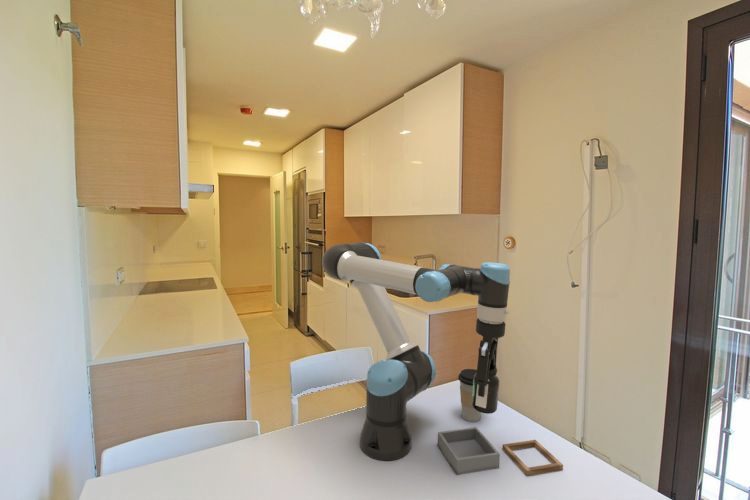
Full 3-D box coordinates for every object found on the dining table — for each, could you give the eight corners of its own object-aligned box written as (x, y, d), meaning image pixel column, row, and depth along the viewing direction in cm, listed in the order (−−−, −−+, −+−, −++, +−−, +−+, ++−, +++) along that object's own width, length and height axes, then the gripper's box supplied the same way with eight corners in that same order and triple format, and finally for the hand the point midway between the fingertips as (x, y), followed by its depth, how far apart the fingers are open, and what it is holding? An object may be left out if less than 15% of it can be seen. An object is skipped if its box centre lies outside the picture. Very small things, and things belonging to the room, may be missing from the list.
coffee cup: (486, 426, 114) (489, 381, 113) (456, 422, 116) (458, 378, 114) (484, 411, 123) (486, 369, 122) (456, 407, 125) (457, 366, 124)
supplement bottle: (468, 408, 98) (471, 367, 96) (475, 398, 103) (478, 358, 102) (493, 417, 94) (497, 374, 93) (499, 406, 100) (503, 365, 98)
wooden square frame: (502, 449, 103) (502, 444, 102) (535, 444, 105) (535, 439, 105) (526, 476, 92) (527, 470, 92) (562, 470, 95) (563, 464, 94)
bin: (437, 445, 104) (437, 432, 104) (475, 439, 107) (476, 427, 107) (456, 474, 92) (457, 460, 92) (499, 467, 95) (499, 453, 95)
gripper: (498, 332, 86) (490, 422, 88) (511, 314, 103) (504, 389, 105) (467, 326, 89) (460, 412, 92) (485, 309, 106) (479, 382, 109)
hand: (484, 399), depth 98 cm, fingers closed on supplement bottle, 7 cm apart
